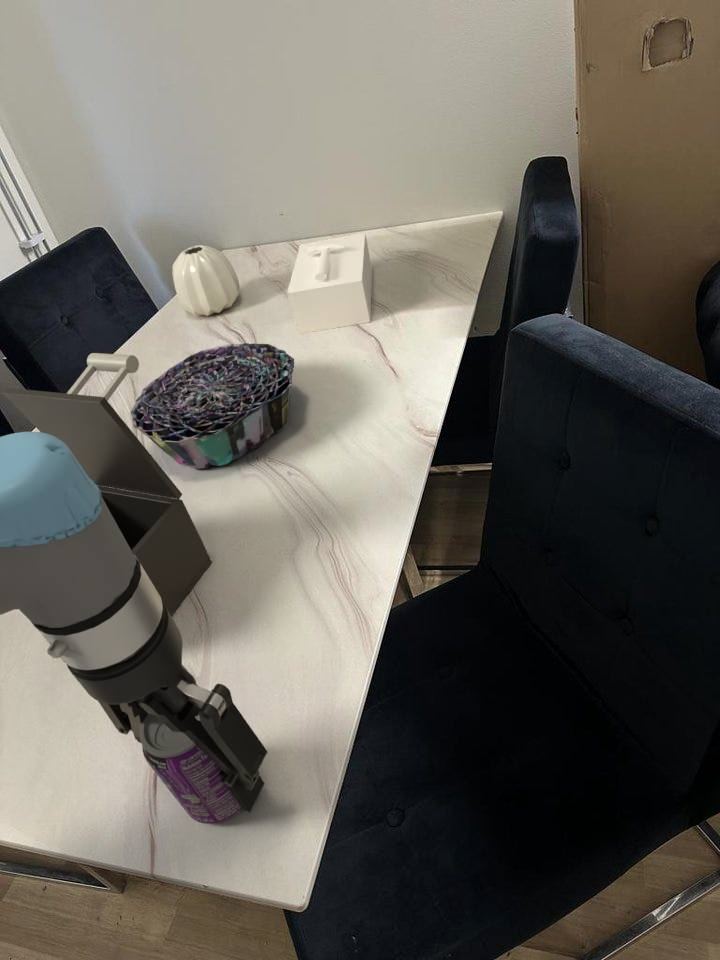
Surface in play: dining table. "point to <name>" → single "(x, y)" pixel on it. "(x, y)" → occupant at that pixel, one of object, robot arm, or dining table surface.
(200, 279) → the vase
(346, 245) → the white embossed block
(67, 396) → the lid
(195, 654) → the dining table surface
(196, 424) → the decorative bowl
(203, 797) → the beverage can
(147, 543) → the dark open box
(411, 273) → the dining table surface
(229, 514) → the dining table surface
